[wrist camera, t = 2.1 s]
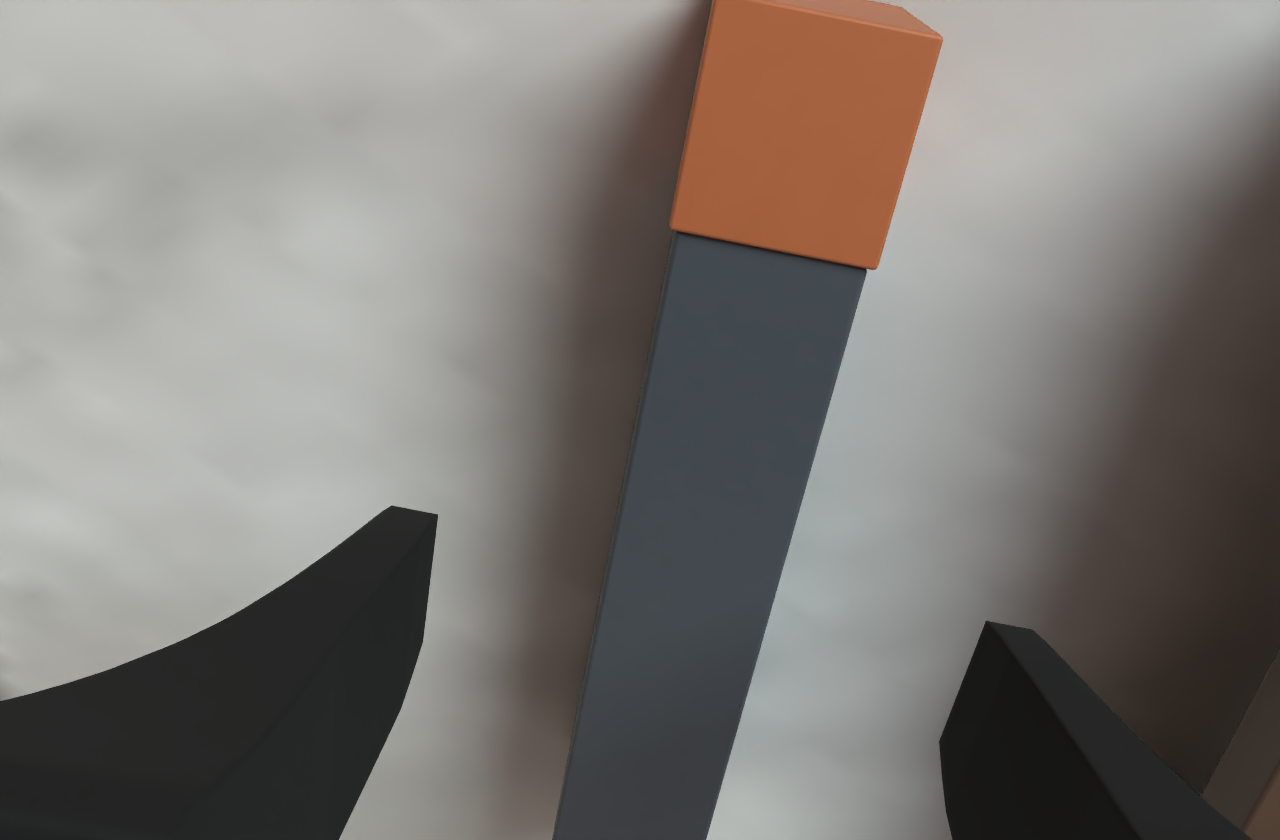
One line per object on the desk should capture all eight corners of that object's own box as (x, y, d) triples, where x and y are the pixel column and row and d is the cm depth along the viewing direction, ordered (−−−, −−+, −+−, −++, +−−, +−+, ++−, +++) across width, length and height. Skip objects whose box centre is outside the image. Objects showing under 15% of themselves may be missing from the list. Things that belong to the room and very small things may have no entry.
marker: (698, 769, 23) (694, 909, 20) (565, 743, 23) (538, 879, 20) (904, 6, 17) (945, 36, 13) (718, -30, 17) (715, -10, 13)
